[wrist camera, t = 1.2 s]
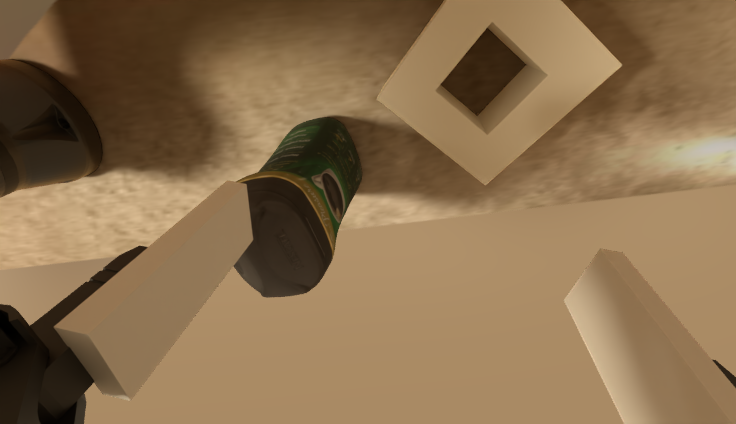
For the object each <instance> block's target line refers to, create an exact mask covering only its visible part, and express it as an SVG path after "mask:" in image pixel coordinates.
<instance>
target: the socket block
mask: <svg viewBox="0 0 736 424" xmlns="http://www.w3.org/2000/svg"><path fill="white" fill-rule="evenodd" d="M486 28H488V29H489V30H490V31H491V32H492V33H493V34H494V35H496V36H497V37H498V38H499V39H500V40H501V41H502V42H503V43H504V44H505V45H506V46H507V47H508V48H509V49H510V50H511V51H512V52H513V53H514V54H516V55H517V56H518V57H519V58H520V59H521V60H522V61H523V62H524V63H525V64H526V65H525V66H524V68H523V69H522V70H521V71H520V72H519V73H518V74H517V75H516V76H515V77H514V78H513V79H512V80H511V81H510V82H509V83H508V84H507V85H506V86H505V87H504V88H503V90H502V91H501V92H500V93H499V94H498V95H497V96H496V97H495V98H494V99H493V100H492V101H491V102H490V103H489V104H488V105H487V106H486V107H485V108H484V109H483V111H482V112H481V113H480V114H479V115H478V116H476V115H475V114H474V113H473V112H472V111H471V110H469V109H468V108H467V107H466V106H465V105H464V104H462V103H461V102H460V101H459V100H458V99H457V98H455V97H454V96H453V95H452V94H451V93H450V92H448V91H447V90H446V89H445V88H444V87H443V86H441V85H440V84H441V83H442V82H443V81H444V79H445V78H446V77H447V76H448V75H449V73H450V72H451V71H452V70H453V68H454V67H455V66H456V65H457V64H458V62H459V61H460V60H461V59H462V58H463V56H464V55H465V54H466V53H467V51H468V50H469V49H470V48H471V47H472V45H473V44H474V43H475V42H476V40H477V39H478V38H479V37H480V36H481V34H482V33H483V32H484V31H485V30H486ZM621 66H622V64H621V63H620V62H619V61H618V60H617V59H616V58H615V57H614V56H613V55H612V54H611V52H610V51H609V50H608V49H607V48H606V47H605V46H604V45H603V44H602V43H601V42H600V41H599V40H598V39H597V38H596V37H595V36H594V35H593V33H592V32H591V31H590V30H589V29H588V28H587V27H586V26H585V25H584V24H583V23H582V22H581V21H580V20H579V19H578V18H577V17H576V16H575V15H574V13H573V12H572V11H571V10H570V9H569V8H568V7H567V6H566V5H565V4H564V3H563V2H562V1H561V0H444V1H443V3H442V4H441V5H440V7H439V8H438V10H437V11H436V12H435V14H434V15H433V17H432V18H431V20H430V21H429V22H428V24H427V25H426V27H425V28H424V29H423V31H422V32H421V34H420V35H419V36H418V38H417V39H416V41H415V42H414V43H413V45H412V46H411V48H410V49H409V50H408V52H407V53H406V55H405V56H404V58H403V59H402V60H401V62H400V63H399V65H398V66H397V67H396V69H395V70H394V72H393V73H392V74H391V76H390V77H389V79H388V80H387V81H386V83H385V84H384V86H383V87H382V89H381V91H380V93H379V95H378V97H377V98H376V99H377V100H378V101H379V102H381V103H382V104H383V105H384V106H386V107H387V108H388V109H389V110H391V111H392V112H393V113H394V114H396V115H397V116H398V117H399V118H401V119H402V120H403V121H404V122H406V123H407V124H408V125H409V126H411V127H412V128H413V129H415V130H416V131H417V132H418V133H420V134H421V135H422V136H423V137H425V138H426V139H427V140H428V141H430V142H431V143H432V144H433V145H435V146H436V147H437V148H438V149H440V150H441V151H442V152H443V153H445V154H446V155H447V156H448V157H450V158H451V159H452V160H453V161H455V162H456V163H457V164H459V165H460V166H461V167H462V168H464V169H465V170H466V171H467V172H469V173H470V174H471V175H472V176H474V177H475V178H476V179H477V180H479V181H480V182H481V183H482V184H484V185H485V186H486V185H487V184H488V183H489V182H490V181H491V180H492V179H494V178H495V177H496V176H497V175H498V174H499V173H500V172H502V171H503V170H504V169H505V168H506V167H507V166H508V165H510V164H511V163H512V162H513V161H514V160H515V159H516V158H517V157H519V156H520V155H521V154H522V153H523V152H524V151H525V150H527V149H528V148H529V147H530V146H531V145H532V144H533V143H535V142H536V141H537V140H538V139H539V138H540V137H541V136H543V135H544V134H545V133H546V132H547V131H548V130H549V129H550V128H552V127H553V126H554V125H555V124H556V123H557V122H558V121H560V120H561V119H562V118H563V117H564V116H565V115H566V114H568V113H569V112H570V111H571V110H572V109H573V108H574V107H576V106H577V105H578V104H579V103H580V102H581V101H582V100H583V99H585V98H586V97H587V96H588V95H589V94H590V93H591V92H593V91H594V90H595V89H596V88H597V87H598V86H599V85H601V84H602V83H603V82H604V81H605V80H606V79H607V78H609V77H610V76H611V75H612V74H613V73H614V72H615V71H616V70H618V69H619V68H620V67H621Z"/></svg>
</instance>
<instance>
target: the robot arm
mask: <svg viewBox="0 0 736 424" xmlns="http://www.w3.org/2000/svg"><path fill="white" fill-rule="evenodd" d="M101 158H102V147H101V142H100V138H99V135H98V132H97V130H96V128H95V126H94V124H93V122H92V120H91V118H90V117H89V115H88V114H87V112H86V111H85V109H84V108H83V107H82V105H81V104H80V103H79V102H78V101H77V100H76V98H75V97H74V96H73V95H72V94H71V93H70V92H69V91H68V90H67V89H66V88H65V87H63V86H62V85H61V84H60V83H59V82H57V81H56V80H55V79H54V78H52V77H51V76H49V75H48V74H46V73H45V72H43V71H41V70H39V69H38V68H36V67H34V66H31V65H29V64H27V63H24V62H20V61H17V60H10V59H2V60H0V197H3V196H5V195H7V194H10V193H12V192H14V191H17V190H21V189H27V188H33V187H39V186H45V185H51V184H56V183H68V182H72V181H75V180H78V179H80V178H82V177H84V176H86V175H89V174H91V173H92V172H94V171H95V170H96V169H97V168H98V166H99V164H100V162H101ZM252 241H253V234H252V226H251V218H250V209H249V201H248V193H247V184H243V183H238V182H232V181H226V182H225V183H224V184H223V185H222V186H220V187H219V188H218V189H217V190H216V191H214V192H213V193H212V194H211V195H210V196H209V197H207V198H206V199H205V200H204V201H203V202H201V203H200V204H199V205H198V206H197V207H195V208H194V209H193V210H192V211H191V212H190V213H188V214H187V215H186V216H185V217H184V218H182V219H181V220H180V221H179V222H178V223H176V224H175V225H174V226H173V227H172V228H170V229H169V230H168V231H167V232H166V233H165V234H163V235H162V236H161V237H160V238H159V239H157V240H156V241H155V242H154V243H153V244H151V245H150V246H149V247H144V246H138V247H136V248H134V249H132V250H130V251H128V252H125V253H123V254H121V255H119V256H118V257H117V258H116V259H114V260H113V261H112V262H110V263H109V264H108V265H107V266H105V267H104V269H103V271H99V272H98V273H97V274H95V275H94V276H93V277H91V278H90V281H89V282H85V283H84V284H83V285H81V286H80V287H79V288H78V289H76V290H75V291H74V292H72V293H71V294H70V295H69V296H68V297H66V298H65V299H64V300H62V301H61V302H60V303H59V304H57V305H56V306H55V307H53V308H52V309H51V310H50V311H48V313H46V314H45V315H43V316H42V317H41V318H40V319H38V320H37V321H36V322H34V323H33V324H32V325H30V326H29V325H28V323H27V322H26V321H25V320H24V318H23V317H22V316H21V315H20V313H19V312H18V311H17V310H16V309H15V308H13V307H12V306H10V305H2V304H0V424H84V417H85V408H86V399H85V394H84V393H85V391H86V390H87V389H88V388H89V387H90V386H91V385H92V383H95V384H96V386H97V387H98V388H99V390H100V391H101V392H102V394H105V395H109V396H113V397H117V398H122V399H126V400H130V401H131V400H132V398H133V397H134V396H135V394H136V393H137V392H138V391H139V389H140V388H141V387H142V385H143V384H144V383H145V381H146V380H147V379H148V377H149V376H150V375H151V373H152V372H153V371H154V370H155V368H156V367H157V366H158V364H159V363H160V362H161V360H162V359H163V358H164V356H165V355H166V354H167V352H168V351H169V350H170V349H171V347H172V346H173V345H174V343H175V342H176V341H177V339H178V338H179V337H180V335H181V334H182V333H183V331H184V330H185V329H186V327H187V326H188V325H189V324H190V322H191V321H192V320H193V318H194V317H195V316H196V314H197V313H198V312H199V310H200V309H201V308H202V306H203V305H204V303H206V301H207V300H208V299H209V297H210V296H211V295H212V293H213V292H214V291H215V289H216V288H217V287H218V285H219V284H220V283H221V282H222V280H223V279H224V278H225V276H226V275H227V273H228V272H229V271H230V270H231V268H232V267H233V266H234V264H235V263H236V262H237V261H238V259H239V258H240V257H241V255H242V254H243V253H244V251H245V250H246V249H247V247H248V246H249V245H250V243H251V242H252ZM564 302H565V304H566V306H567V308H568V310H569V312H570V314H571V316H572V318H573V320H574V322H575V324H576V326H577V328H578V330H579V332H580V334H581V336H582V339H583V341H584V343H585V345H586V347H587V349H588V351H589V353H590V355H591V357H592V359H593V361H594V363H595V365H596V367H597V369H598V371H599V373H600V375H601V377H602V380H603V381H604V384H605V386H606V388H607V390H608V392H609V394H610V396H611V398H612V400H613V402H614V404H615V406H616V408H617V410H618V412H619V414H620V416H621V418H622V421H623V423H624V424H736V377H735V376H734V375H732V374H731V373H730V372H729V371H728V370H726V369H725V368H724V367H723V366H722V365H721V364H719V363H718V362H717V361H716V360H712V359H711V358H710V357H709V356H708V355H707V353H706V352H705V351H704V350H703V348H702V347H701V346H700V345H699V344H698V342H697V341H696V340H695V339H694V338H693V337H692V335H691V334H690V333H689V332H688V330H687V329H686V328H685V327H684V326H683V325H682V323H681V322H680V321H679V320H678V318H677V317H676V316H675V315H674V314H673V313H672V311H671V310H670V309H669V308H668V307H667V305H666V304H665V303H664V302H663V301H662V299H661V298H660V297H659V296H658V294H657V293H656V292H655V291H654V290H653V288H652V287H651V286H650V285H649V284H648V282H647V281H646V280H645V279H644V278H643V276H642V275H641V274H640V273H639V272H638V270H637V269H636V268H635V267H634V266H633V265H632V263H631V262H630V261H629V260H628V258H627V257H626V256H625V255H624V254H623V253H622V252H617V251H611V250H605V249H600V250H599V251H598V253H597V254H596V255H595V257H594V258H593V260H592V261H591V262H590V264H589V266H588V267H587V268H586V270H585V271H584V272H583V274H582V275H581V277H580V278H579V280H578V281H577V282H576V284H575V285H574V287H573V288H572V290H571V291H570V292H569V294H568V295H567V297H566V298H565V300H564Z"/></svg>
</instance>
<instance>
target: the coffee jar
mask: <svg viewBox="0 0 736 424" xmlns="http://www.w3.org/2000/svg"><path fill="white" fill-rule="evenodd" d="M361 179H362V170H361V165H360V161H359V157H358V154H357V152H356V149H355V146H354V143H353V141H352V139H351V137H350V135H349V133H348V131H347V129H346V128H345V127H344V126H343V125H342V124H341V123H340V122H339V121H337V120H335V119H332V118H317V119H313V120H309V121H306V122H303V123H301V124H299V125H297V126H296V127H294V128H293V129H292V130H291V131H290V132H289V133H288V134H287V136H286V137H285V138H284V139H283V141H282V142H281V144H280V145H279V146H278V148H277V149H276V151H275V152H274V153H273V155H272V156H271V157H270V159H269V160H268V161H267V162H266V164H265V165H264V166H263V167H262V168H261V169H260V171H259V172H258V173H255V174H252V175H249V176H246V177H244V178H242V179H240V180H238V181H236V182H238V183H243V184H247V193H248V201H249V209H250V218H251V226H252V234H253V241H252V242H251V243H250V245H249V246H248V247H247V249H246V250H245V251H244V253H243V254H242V255H241V257H240V258H239V259H238V261H237V262H236V263H235V264H234V267H235V269H236V270H237V271H238V273H239V274H240V275H241V277H242V278H243V279H244V280H245V281H246V282H247V283H248V284H249V285H251V286H252V287H253V288H254V289H256V290H257V291H258V292H260V293H261V295H262V296H263V297H285V296H293V295H299V294H304V293H307V292H308V291H310V290H311V289H312V288H314V287H315V286H316V285H317V284H318V283H319V282H320V280H321V279H322V277H323V276H324V274H325V272H326V270H327V269H328V267H329V265H330V263H331V261H332V259H333V255H334V250H335V243H336V237H337V232H338V229H339V226H340V224H341V221H342V219H343V217H344V215H345V213H346V211H347V208H348V206H349V204H350V202H351V200H352V199H353V197H354V195H355V193H356V191H357V189H358V187H359V185H360V182H361Z"/></svg>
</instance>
